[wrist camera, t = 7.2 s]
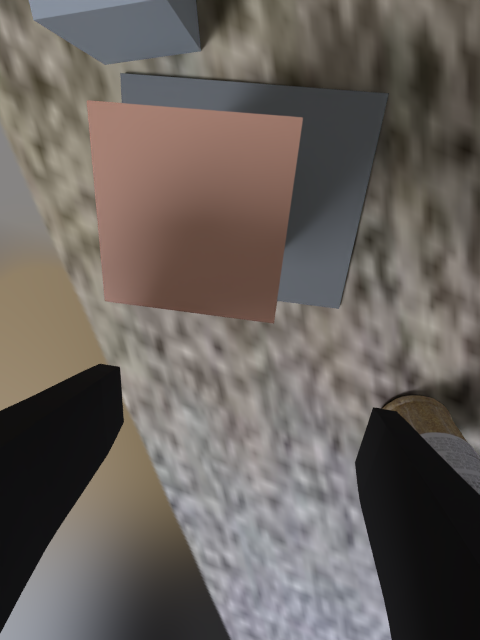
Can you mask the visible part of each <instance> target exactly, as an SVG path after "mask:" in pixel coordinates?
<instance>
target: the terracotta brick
mask: <svg viewBox="0 0 480 640" xmlns="http://www.w3.org/2000/svg"><path fill="white" fill-rule="evenodd" d="M87 108H88V119H89V131H90V142H91V153H92V164H93V175H94V186H95V197H96V208H97V219H98V230H99V241H100V252H101V263H102V274H103V285H104V296H105V301H108V302H115V303H123V304H131V305H138V306H146V307H153V308H161V309H168V310H176V311H184V312H191V313H199V314H206V315H214V316H222V317H229V318H237V319H244V320H252V321H259V322H267V323H274V319H275V312H276V305H277V298H278V291H279V284H280V277H281V270H282V263H283V255H284V248H285V241H286V234H287V227H288V220H289V213H290V206H291V199H292V192H293V185H294V178H295V171H296V164H297V157H298V150H299V143H300V136H301V129H302V121H303V117H291V116H278V115H266V114H253V113H240V112H228V111H215V110H202V109H189V108H177V107H164V106H151V105H139V104H126V103H113V102H101V101H88V100H87Z"/></svg>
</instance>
